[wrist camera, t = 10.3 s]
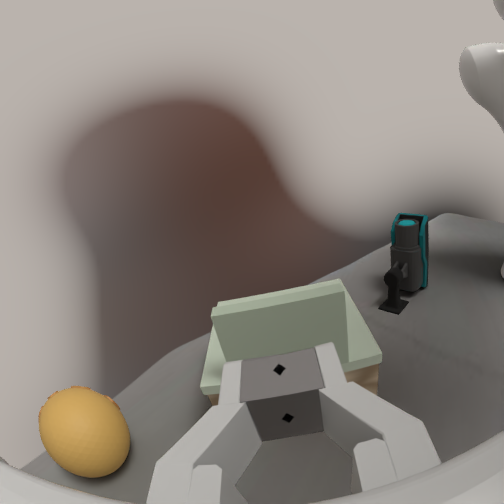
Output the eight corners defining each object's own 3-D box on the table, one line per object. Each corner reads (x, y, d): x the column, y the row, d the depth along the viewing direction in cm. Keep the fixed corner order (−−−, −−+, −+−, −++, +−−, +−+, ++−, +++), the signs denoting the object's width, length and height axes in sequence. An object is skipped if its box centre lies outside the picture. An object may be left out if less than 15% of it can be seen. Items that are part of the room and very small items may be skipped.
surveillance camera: (368, 231, 39) (397, 212, 44) (372, 307, 43) (400, 279, 48) (405, 236, 34) (429, 215, 40) (404, 316, 38) (428, 285, 44)
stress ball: (151, 485, 22) (150, 396, 27) (68, 491, 14) (67, 381, 19) (96, 463, 26) (97, 390, 31) (26, 458, 18) (28, 373, 23)
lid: (340, 285, 35) (333, 226, 32) (381, 362, 21) (383, 281, 19) (220, 309, 36) (203, 252, 33) (203, 395, 22) (172, 322, 20)
